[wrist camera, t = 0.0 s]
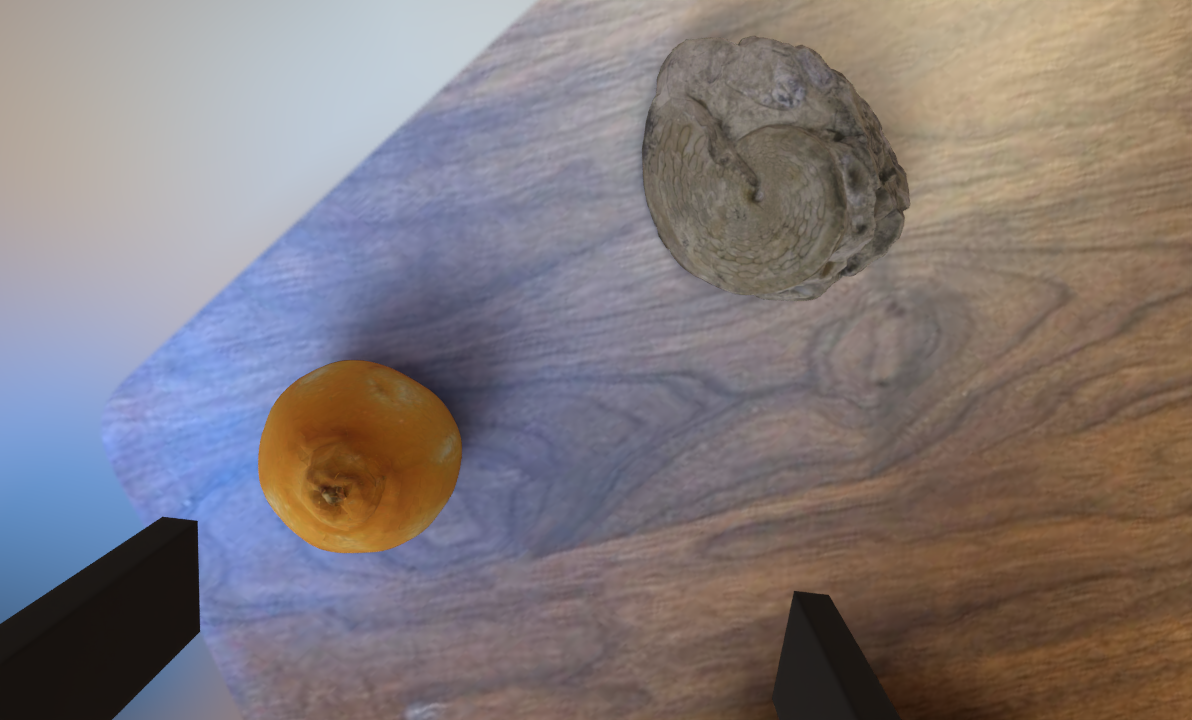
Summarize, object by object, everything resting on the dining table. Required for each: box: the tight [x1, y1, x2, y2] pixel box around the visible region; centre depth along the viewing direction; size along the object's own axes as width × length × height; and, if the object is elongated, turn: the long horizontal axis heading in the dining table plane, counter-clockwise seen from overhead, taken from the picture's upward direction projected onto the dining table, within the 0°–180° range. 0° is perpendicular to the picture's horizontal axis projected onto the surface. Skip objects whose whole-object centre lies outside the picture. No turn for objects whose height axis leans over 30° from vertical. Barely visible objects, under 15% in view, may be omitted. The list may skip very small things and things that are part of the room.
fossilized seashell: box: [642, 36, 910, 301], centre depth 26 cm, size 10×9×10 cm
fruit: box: [258, 360, 462, 553], centre depth 27 cm, size 8×8×8 cm
